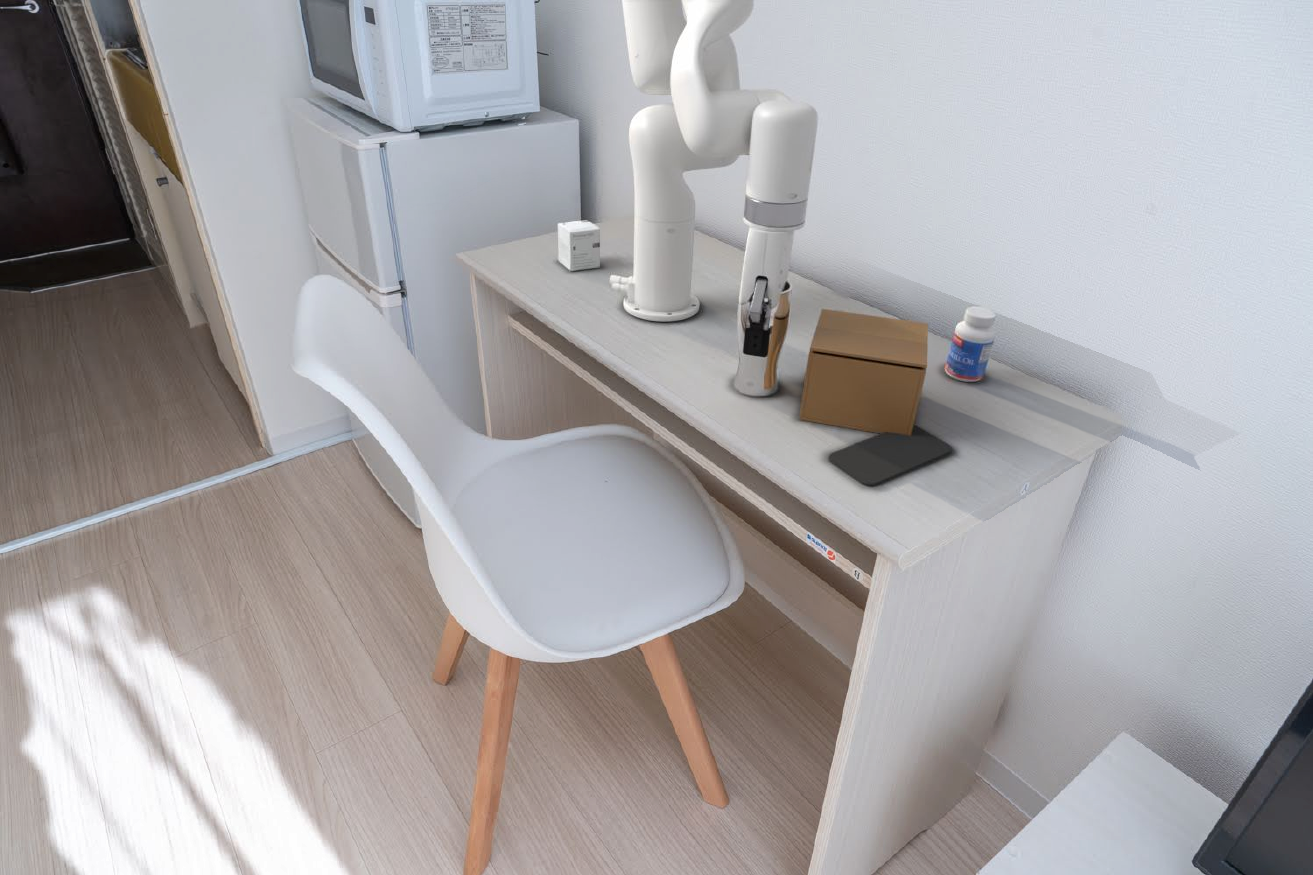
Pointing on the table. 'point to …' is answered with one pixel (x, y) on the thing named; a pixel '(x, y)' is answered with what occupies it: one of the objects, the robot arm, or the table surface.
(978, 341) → the pill bottle
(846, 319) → the flap
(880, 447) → the phone
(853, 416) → the carton
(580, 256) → the white cardboard box
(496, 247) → the table surface
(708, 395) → the table surface
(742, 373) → the beer glass
